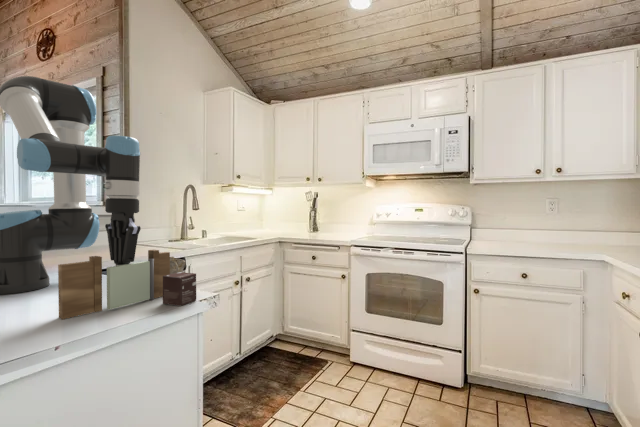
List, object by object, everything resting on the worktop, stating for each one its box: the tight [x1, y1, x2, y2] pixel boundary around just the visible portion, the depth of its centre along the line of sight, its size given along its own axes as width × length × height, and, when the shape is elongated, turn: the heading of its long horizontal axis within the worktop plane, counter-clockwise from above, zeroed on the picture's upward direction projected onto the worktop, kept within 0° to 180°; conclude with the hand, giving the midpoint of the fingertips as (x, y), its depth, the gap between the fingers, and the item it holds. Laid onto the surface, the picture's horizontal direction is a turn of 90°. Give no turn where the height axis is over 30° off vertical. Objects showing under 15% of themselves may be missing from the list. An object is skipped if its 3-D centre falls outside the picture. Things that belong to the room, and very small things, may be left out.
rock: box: [170, 256, 186, 274], centre depth 115 cm, size 12×7×10 cm, turn 127°
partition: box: [57, 249, 171, 320], centre depth 87 cm, size 3×26×13 cm, turn 147°
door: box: [106, 259, 155, 310], centre depth 87 cm, size 12×1×11 cm, turn 153°
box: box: [162, 271, 197, 307], centre depth 90 cm, size 6×6×7 cm
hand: (121, 288), depth 89 cm, fingers closed
